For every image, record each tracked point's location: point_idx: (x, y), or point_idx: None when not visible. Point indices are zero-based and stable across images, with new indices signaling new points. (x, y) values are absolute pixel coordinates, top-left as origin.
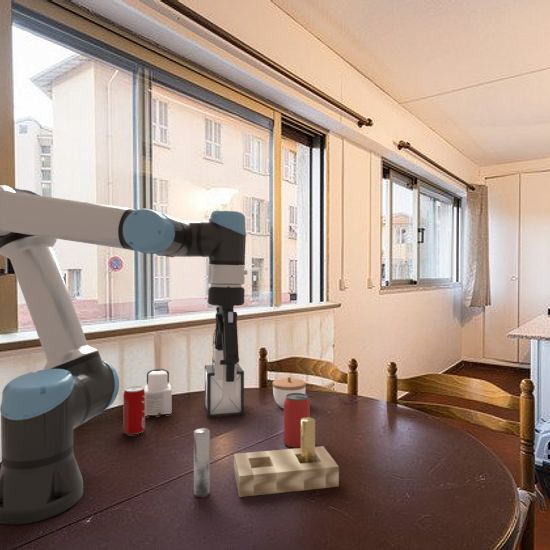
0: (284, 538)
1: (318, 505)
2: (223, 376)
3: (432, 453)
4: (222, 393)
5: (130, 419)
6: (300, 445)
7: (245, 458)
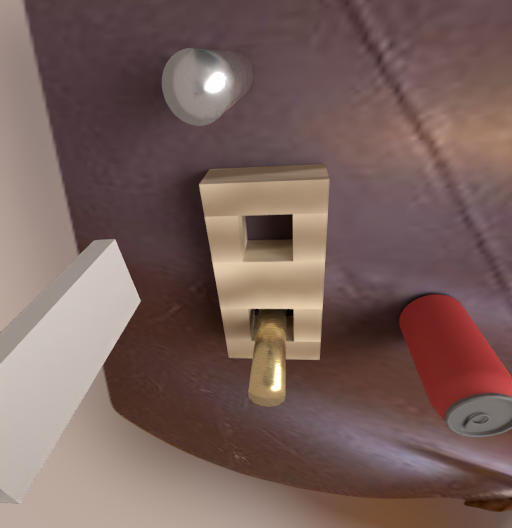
0: (88, 230)
1: (179, 293)
2: (3, 338)
3: (312, 451)
4: (78, 256)
5: None
6: (399, 320)
7: (293, 206)
